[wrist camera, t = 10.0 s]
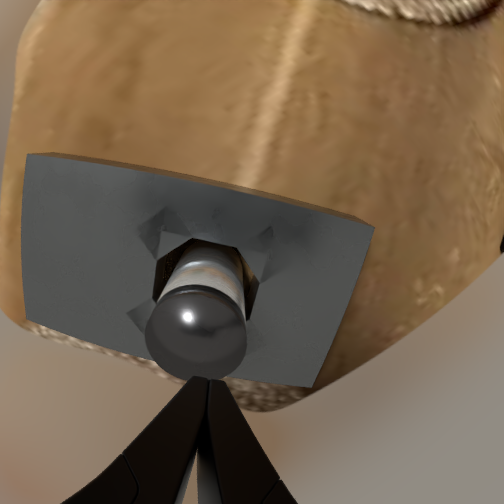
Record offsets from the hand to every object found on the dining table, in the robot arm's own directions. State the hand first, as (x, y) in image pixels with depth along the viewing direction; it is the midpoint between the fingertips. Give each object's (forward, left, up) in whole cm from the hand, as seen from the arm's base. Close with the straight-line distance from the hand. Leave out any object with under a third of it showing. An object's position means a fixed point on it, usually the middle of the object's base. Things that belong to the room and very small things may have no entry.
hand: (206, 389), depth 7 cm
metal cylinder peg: (+1, +1, -12) cm, 12 cm away
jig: (+3, +1, -12) cm, 12 cm away
